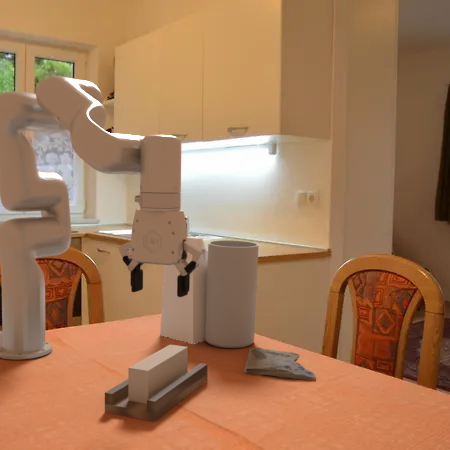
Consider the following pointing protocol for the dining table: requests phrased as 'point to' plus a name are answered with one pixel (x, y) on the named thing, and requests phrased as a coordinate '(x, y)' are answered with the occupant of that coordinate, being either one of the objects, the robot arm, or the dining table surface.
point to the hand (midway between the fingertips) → (159, 293)
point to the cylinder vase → (231, 293)
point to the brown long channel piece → (155, 396)
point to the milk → (185, 301)
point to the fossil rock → (276, 364)
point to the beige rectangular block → (156, 372)
